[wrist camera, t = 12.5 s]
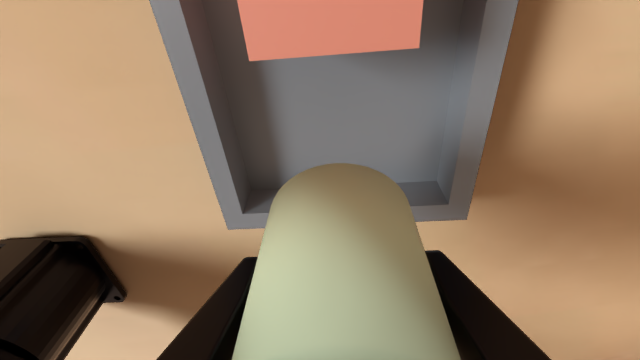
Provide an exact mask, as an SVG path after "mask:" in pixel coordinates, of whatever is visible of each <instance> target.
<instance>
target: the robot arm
mask: <svg viewBox="0 0 640 360" xmlns="http://www.w3.org/2000/svg"><path fill="white" fill-rule="evenodd" d="M425 253H426V256H427V259H428V262H429V265H430V268H431V271H432V274H433V277H434V280H435V283H436V286H437V289H438V292H439V295H440V298H441V301H442V304H443V307H444V310H445V313H446V316H447V319H448V322H449V325H450V328H451V331H452V334H453V337H454V340H455V343H456V346H457V349H458V352H459V355H460V358H461V360H551V359H550V358H549V357H548V356H547V355H546V354H545V353H544V352H543V351H542V350H541V349H540V348H539V347H538V346H537V345H536V344H535V343H534V342H533V341H532V340H531V339H530V338H529V337H528V336H527V335H526V334H525V333H524V332H523V331H522V330H521V329H520V328H519V327H518V326H517V325H516V324H515V323H513V322H512V321H511V320H510V319H509V318H508V317H507V316H506V315H505V314H504V313H503V312H502V311H501V310H500V309H499V308H498V307H497V306H496V305H495V304H494V303H493V302H492V301H491V300H490V299H489V298H488V297H487V296H486V295H485V294H484V293H483V292H482V291H481V290H480V289H479V288H478V287H477V286H476V285H475V284H474V283H473V282H472V281H471V280H470V279H469V278H468V277H467V276H466V275H465V274H464V273H463V272H462V271H461V270H460V269H459V268H458V267H457V266H456V265H455V264H454V263H453V262H452V261H451V260H450V259H448V258H447V257H446V256H445V255H444V254H443V253H442V252H441V251H439V250H433V251H425ZM257 258H258V257H246V258H244V259H243V260H242V261H241V262H240V263H239V264H238V266H237V267H236V268H235V269H234V270H233V271H232V273H231V274H230V275H229V276H228V277H227V278H226V280H225V281H224V282H223V283H222V284H221V285H220V287H219V288H218V289H217V290H216V291H215V292H214V293H213V295H212V296H211V297H210V298H209V299H208V300H207V302H206V303H205V304H204V305H203V306H202V307H201V309H200V310H199V311H198V312H197V313H196V314H195V315H194V317H193V318H192V319H191V320H190V321H189V322H188V324H187V325H186V326H185V327H184V328H183V329H182V331H181V332H180V333H179V334H178V335H177V336H176V338H175V339H174V340H173V341H172V342H171V343H170V344H169V346H168V347H167V348H166V349H165V350H164V351H163V353H162V354H161V355H160V356H159V357H158V358H157V360H232V356H233V352H234V348H235V345H236V341H237V337H238V333H239V329H240V325H241V321H242V317H243V313H244V309H245V305H246V301H247V298H248V294H249V290H250V286H251V282H252V278H253V274H254V270H255V266H256V262H257ZM126 297H127V294H126V292H125V291H124V289H123V288H122V286H121V285H120V284H119V282H118V281H117V279H116V278H115V276H114V275H113V274H112V272H111V271H110V269H109V268H108V266H107V265H106V264H105V262H104V261H103V259H102V258H101V257H100V255H99V254H98V252H97V251H96V249H95V248H94V247H93V245H92V244H91V242H90V241H89V240H88V239H86V238H84V237H79V236H78V237H55V238H31V239H7V240H0V360H64V359H65V358H66V356H67V355H68V353H69V352H70V350H71V349H72V347H73V346H74V345H75V343H76V342H77V340H78V339H79V337H80V336H81V334H82V333H83V331H84V330H85V329H86V327H87V326H88V324H89V323H90V321H91V320H92V318H93V317H94V315H95V314H96V313H97V311H98V310H99V308H100V307H101V305H102V304H103V303H108V302H123V301H124V300H125V298H126Z"/></svg>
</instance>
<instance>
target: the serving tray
mask: <svg viewBox="0 0 640 360" xmlns="http://www.w3.org/2000/svg"><path fill="white" fill-rule="evenodd" d="M149 1H150V4H151V7H152V10H153V13H154V16H155V19H156V22H157V24H158V27H159V30H160V33H161V36H162V39H163V42H164V45H165V48H166V51H167V54H168V56H169V59H170V62H171V65H172V68H173V71H174V74H175V77H176V80H177V83H178V86H179V88H180V91H181V94H182V97H183V100H184V103H185V106H186V109H187V112H188V115H189V118H190V120H191V123H192V126H193V129H194V132H195V135H196V138H197V141H198V144H199V147H200V150H201V152H202V155H203V158H204V161H205V164H206V167H207V170H208V173H209V176H210V179H211V181H212V184H213V187H214V190H215V193H216V196H217V199H218V202H219V205H220V208H221V211H222V213H223V216H224V219H225V222H226V225H227V228H228V230H232V229H255V228H265V227H266V223H267V219H268V215H269V212H270V208H271V204H272V202H273V199H274V197H275V196H276V194H277V192H278V191H279V190H280V188H281V187H282V186H283V185H284V184H285V183H286V182H287V181H288V180H290V179H291V178H293V177H294V176H295V175H297V174H299V173H301V172H303V171H305V170H307V169H310V168H313V167H316V166H320V165H325V164H333V163H349V164H357V165H361V166H366V167H369V168H372V169H374V170H377V171H379V172H381V173H383V174H385V175H386V176H388V177H389V178H390V179H392V180H393V181H394V182H395V183H396V184H397V185H398V186H399V187H400V188H401V189H402V191H403V192H404V194H405V195H406V197H407V199H408V202H409V205H410V208H411V211H412V214H413V217H414V220H415V222H422V221H446V220H467V216H468V212H469V208H470V203H471V199H472V195H473V191H474V186H475V182H476V178H477V174H478V170H479V165H480V161H481V157H482V153H483V148H484V144H485V140H486V136H487V132H488V127H489V123H490V119H491V115H492V110H493V106H494V102H495V98H496V94H497V89H498V85H499V81H500V77H501V72H502V68H503V64H504V60H505V56H506V51H507V47H508V43H509V39H510V34H511V30H512V26H513V22H514V18H515V13H516V9H517V5H518V1H519V0H423V11H422V21H421V32H420V43H419V48H414V49H401V50H388V51H375V52H362V53H349V54H336V55H323V56H311V57H298V58H285V59H272V60H259V61H249V58H248V53H247V48H246V43H245V38H244V33H243V28H242V23H241V18H240V13H239V8H238V3H237V0H149Z"/></svg>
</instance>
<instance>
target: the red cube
mask: <svg viewBox="0 0 640 360" xmlns="http://www.w3.org/2000/svg"><path fill="white" fill-rule="evenodd" d="M237 3H238V8H239V13H240V18H241V23H242V28H243V33H244V38H245V43H246V48H247V53H248V58H249V61H259V60H272V59H285V58H298V57H311V56H323V55H336V54H349V53H362V52H375V51H388V50H401V49H414V48H419V43H420V32H421V21H422V11H423V0H237Z"/></svg>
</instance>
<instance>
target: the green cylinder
mask: <svg viewBox="0 0 640 360" xmlns="http://www.w3.org/2000/svg"><path fill="white" fill-rule="evenodd" d="M232 360H461V358H460V355H459V352H458V349H457V346H456V343H455V340H454V337H453V334H452V331H451V328H450V325H449V322H448V319H447V316H446V313H445V310H444V307H443V304H442V301H441V298H440V295H439V292H438V289H437V286H436V283H435V280H434V277H433V274H432V271H431V268H430V265H429V262H428V259H427V256H426V253H425V250H424V247H423V244H422V241H421V238H420V235H419V232H418V229H417V226H416V223H415V220H414V217H413V214H412V211H411V208H410V205H409V202H408V199H407V197H406V195H405V194H404V192H403V191H402V189H401V188H400V187H399V186H398V185H397V184H396V183H395V182H394V181H393V180H392V179H390V178H389V177H388V176H386V175H385V174H383V173H381V172H379V171H377V170H374V169H372V168H369V167H366V166H361V165H357V164H349V163H333V164H325V165H320V166H316V167H313V168H310V169H307V170H305V171H303V172H301V173H299V174H297V175H295V176H294V177H293V178H291V179H290V180H288V181H287V182H286V183H285V184H284V185H283V186H282V187H281V188H280V190H279V191H278V192H277V194H276V196H275V197H274V199H273V202H272V204H271V208H270V212H269V215H268V219H267V223H266V227H265V231H264V235H263V239H262V243H261V247H260V251H259V255H258V258H257V262H256V266H255V270H254V274H253V278H252V282H251V286H250V290H249V294H248V298H247V301H246V305H245V309H244V313H243V317H242V321H241V325H240V329H239V333H238V337H237V341H236V345H235V348H234V352H233V356H232Z"/></svg>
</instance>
